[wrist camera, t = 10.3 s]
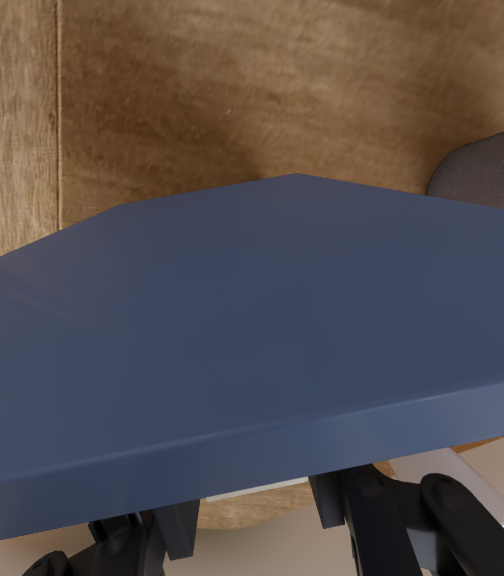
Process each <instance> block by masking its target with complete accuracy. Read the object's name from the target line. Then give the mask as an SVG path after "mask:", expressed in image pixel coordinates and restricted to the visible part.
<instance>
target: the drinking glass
mask: <svg viewBox="0 0 504 576" xmlns="http://www.w3.org/2000/svg"><path fill="white" fill-rule="evenodd" d="M387 461H388V462H389V464H390V466H391V468H392V470H393V471H394V473H395V475H396V477H397V479H398V480H399V481H404V482H411V483H418V484H420V481H421V479H422V477H423V476H425V475H427V474H429V473H441V474H444V475H448V476H450V477H452V478H454V479H456V480H457V481H459V482H461V483H462V484H463V485H464V486H465V487H466V488H467V489H469V490H470V491H471V492H472V494H473V495H474V496H475V497H476V498H477V499H478V500H479V501H480V502H481V503H482V505H483V506H484V507H485V508H486V509H487V510H488V511H489V512H490V513H491V515H492V516H493V517H494V518H495V519H496V520H497V521H498V522H499V523H500V524H501V526H502V527H503V528H504V498H503V497H502V496H501V495H500V494H499V493H498V492H497V491H496V490H495V489H494V488H493V487H492V486H491V485H490V484H489V483H488V482H487V481H486V480H485V479H484V478H483V477H482V476H481V475H480V474H479V473H478V472H477V471H476V470H475V469H474V468H472V467H471V466H470V465H469V464H468V463H467V462H466V461H465V460H464V459H462V458H461V457H460V456H459V455H458V454H457V453H456V452H455V451H453V450H452V449H451V448H450V447H447V448H442V449H437V450H433V451H428V452H423V453H418V454H413V455H409V456H404V457H399V458H394V459H389V460H387Z"/></svg>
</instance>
